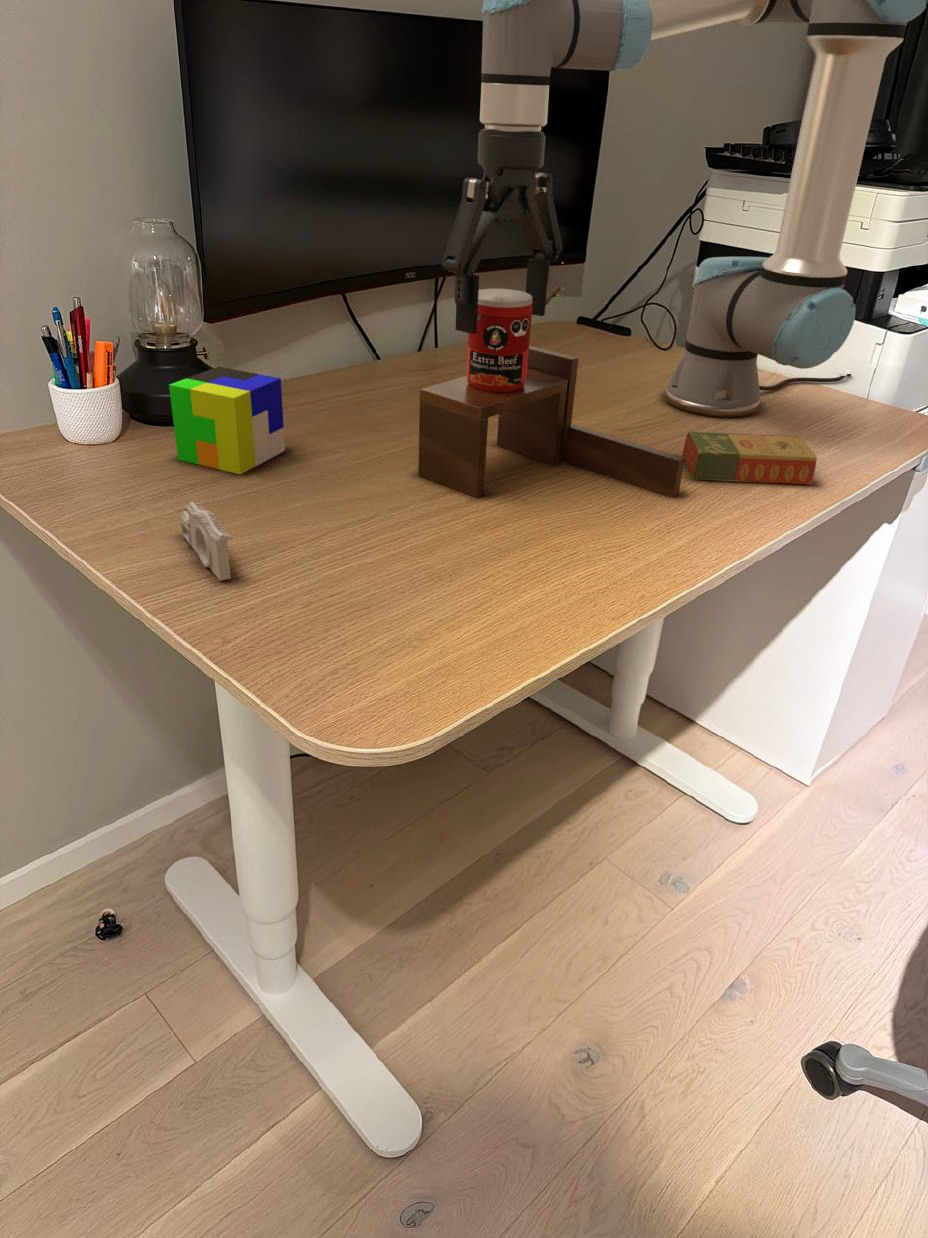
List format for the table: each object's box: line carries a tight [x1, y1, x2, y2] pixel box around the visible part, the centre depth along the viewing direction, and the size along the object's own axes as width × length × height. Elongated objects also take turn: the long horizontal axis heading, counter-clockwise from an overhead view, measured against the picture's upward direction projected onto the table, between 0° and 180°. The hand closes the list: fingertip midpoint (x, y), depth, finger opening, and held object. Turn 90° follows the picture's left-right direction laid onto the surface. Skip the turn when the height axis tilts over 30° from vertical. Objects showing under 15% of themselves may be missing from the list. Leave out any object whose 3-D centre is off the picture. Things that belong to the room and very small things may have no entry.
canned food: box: [466, 288, 533, 392], centre depth 114 cm, size 8×8×11 cm
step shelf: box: [417, 344, 685, 498], centre depth 115 cm, size 20×28×14 cm
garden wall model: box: [178, 501, 232, 582], centre depth 95 cm, size 12×2×6 cm, turn 33°
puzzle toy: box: [168, 366, 286, 475], centre depth 120 cm, size 10×10×10 cm
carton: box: [681, 430, 818, 485], centre depth 125 cm, size 8×16×4 cm, turn 89°
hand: (501, 322), depth 113 cm, fingers open, 13 cm apart
